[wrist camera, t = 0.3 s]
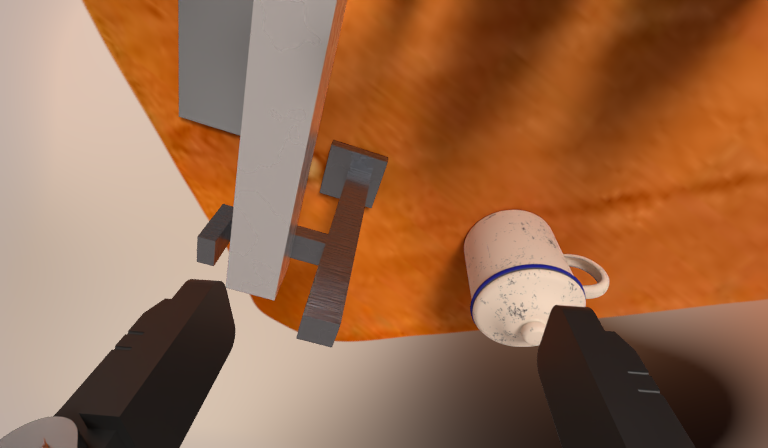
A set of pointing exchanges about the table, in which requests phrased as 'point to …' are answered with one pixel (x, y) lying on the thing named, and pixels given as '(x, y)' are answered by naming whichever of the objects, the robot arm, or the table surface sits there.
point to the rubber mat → (214, 61)
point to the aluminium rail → (279, 134)
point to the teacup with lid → (522, 277)
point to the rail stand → (320, 238)
